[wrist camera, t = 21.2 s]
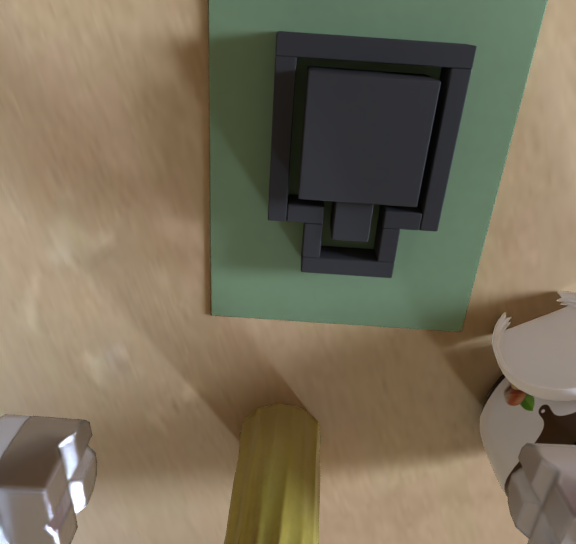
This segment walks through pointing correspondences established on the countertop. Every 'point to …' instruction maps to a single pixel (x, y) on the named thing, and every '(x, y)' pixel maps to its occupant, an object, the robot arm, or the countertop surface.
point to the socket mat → (385, 219)
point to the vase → (276, 479)
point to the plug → (364, 142)
